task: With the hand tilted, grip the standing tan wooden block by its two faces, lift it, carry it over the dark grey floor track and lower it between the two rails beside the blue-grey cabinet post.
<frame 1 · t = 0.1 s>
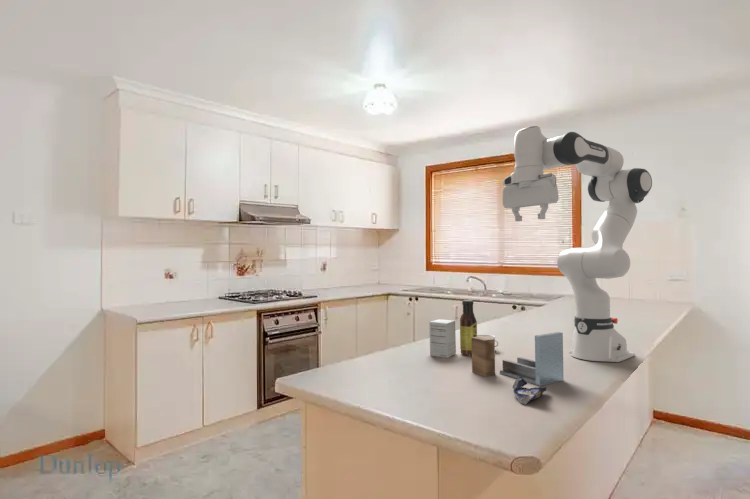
hand: (529, 220, 146), 48 cm above the counter, tool pointing down, fingers open, 8 cm apart
sauce bottle: (468, 354, 169), on the counter
teacup: (487, 350, 175), on the counter
tan wooden block: (483, 373, 143), on the counter
track: (528, 376, 138), on the counter
supplement box: (443, 355, 169), on the counter
snack package: (528, 398, 119), on the counter
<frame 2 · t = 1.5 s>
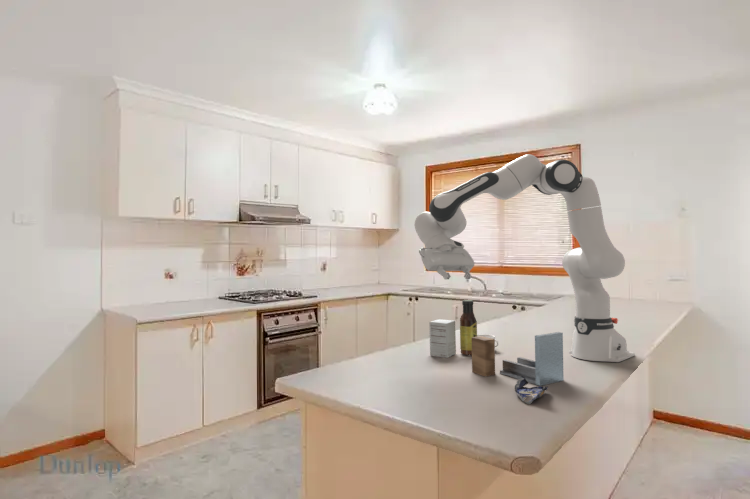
hand: (458, 278, 152), 29 cm above the counter, tool tilted 45°, fingers open, 8 cm apart
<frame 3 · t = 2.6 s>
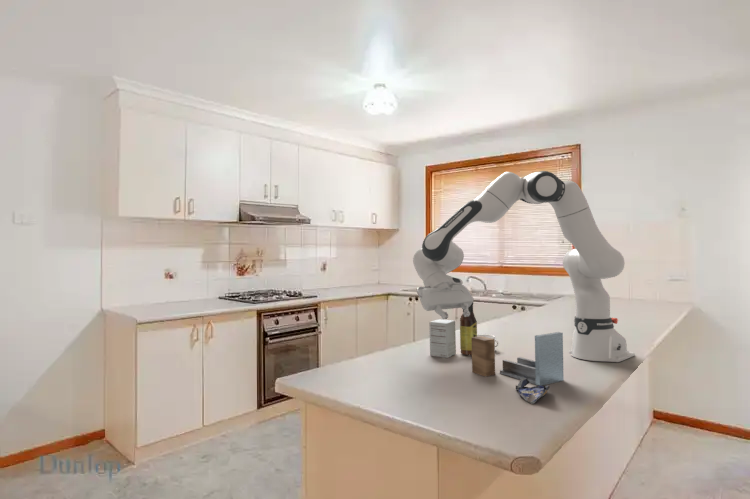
hand: (457, 316, 153), 16 cm above the counter, tool tilted 45°, fingers open, 8 cm apart
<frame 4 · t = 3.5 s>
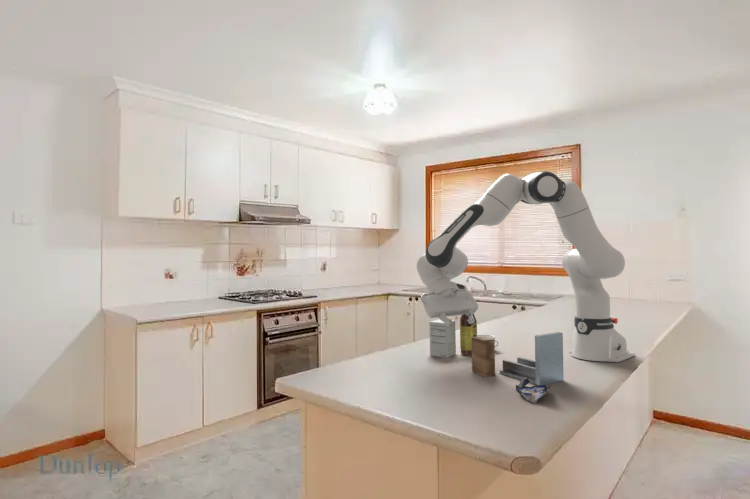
hand: (461, 324, 151), 14 cm above the counter, tool tilted 45°, fingers open, 8 cm apart
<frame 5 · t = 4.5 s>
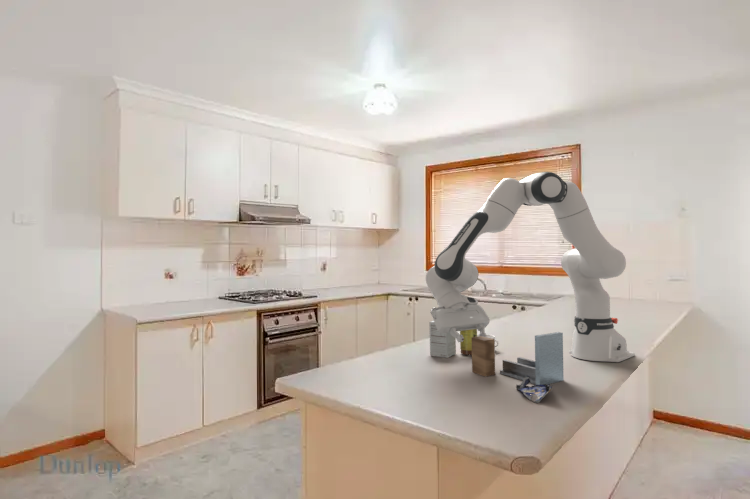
hand: (473, 339, 147), 10 cm above the counter, tool tilted 45°, fingers open, 8 cm apart
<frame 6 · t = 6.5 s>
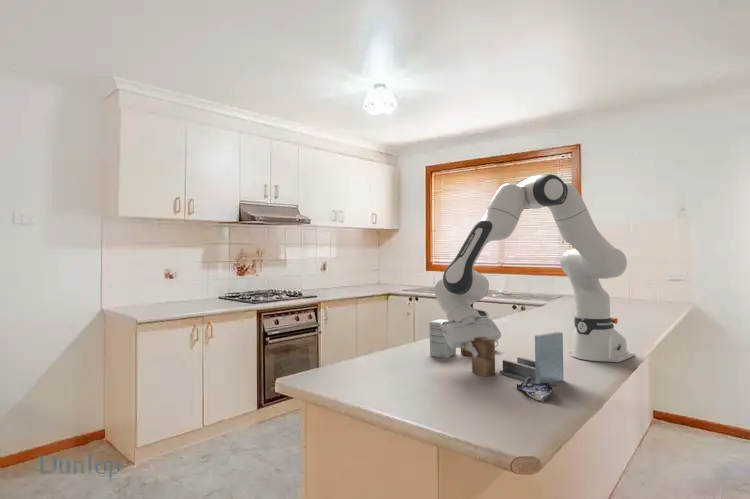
hand: (484, 354, 142), 6 cm above the counter, tool tilted 45°, fingers closed on tan wooden block, 4 cm apart
tan wooden block: (483, 373, 143), on the counter, touching gripper
snack package: (536, 395, 121), on the counter
everything else where it was.
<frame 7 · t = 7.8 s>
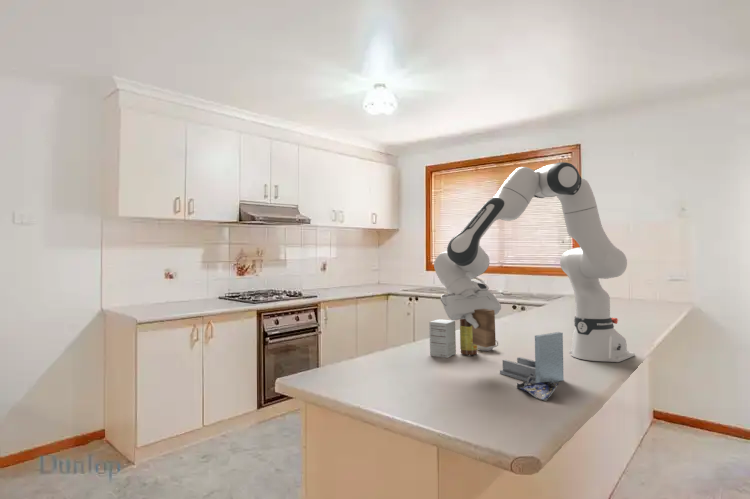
hand: (484, 326, 142), 15 cm above the counter, tool tilted 45°, fingers closed on tan wooden block, 4 cm apart
tan wooden block: (484, 344, 143), point 9 cm above the counter, touching gripper
when the fingers open (8 cm above the counter, at t = 13.0 s): tan wooden block stays where it is, resting on track.
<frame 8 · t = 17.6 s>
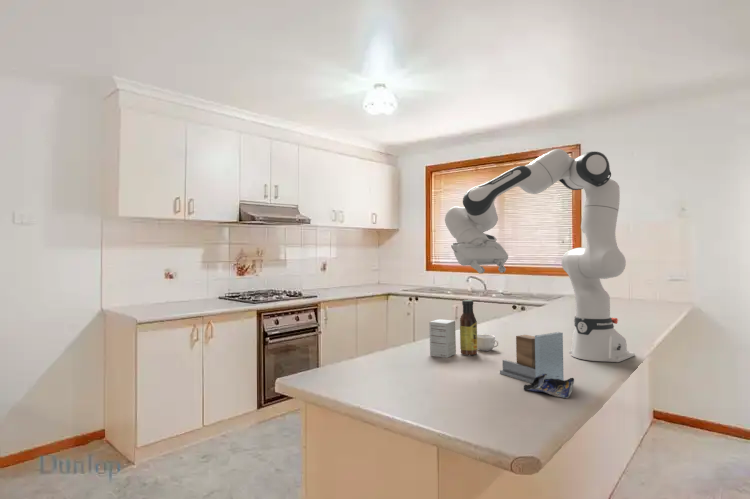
hand: (493, 271, 151), 31 cm above the counter, tool tilted 45°, fingers open, 8 cm apart
tan wooden block: (529, 373, 138), point 1 cm above the counter, touching track
snack package: (547, 393, 123), on the counter
everything else where it was.
at the end: tan wooden block inside the target area on the track (0.1 cm from its centre), point 1.0 cm above the track's base; tan wooden block tilted 0°; the gripper is holding nothing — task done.
